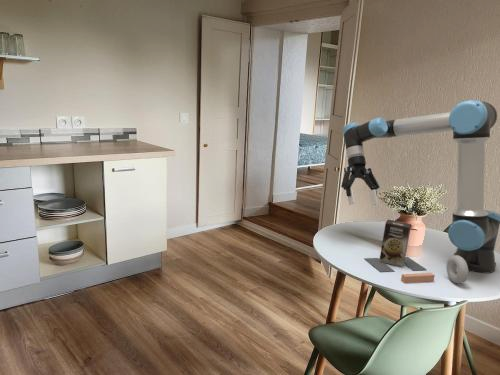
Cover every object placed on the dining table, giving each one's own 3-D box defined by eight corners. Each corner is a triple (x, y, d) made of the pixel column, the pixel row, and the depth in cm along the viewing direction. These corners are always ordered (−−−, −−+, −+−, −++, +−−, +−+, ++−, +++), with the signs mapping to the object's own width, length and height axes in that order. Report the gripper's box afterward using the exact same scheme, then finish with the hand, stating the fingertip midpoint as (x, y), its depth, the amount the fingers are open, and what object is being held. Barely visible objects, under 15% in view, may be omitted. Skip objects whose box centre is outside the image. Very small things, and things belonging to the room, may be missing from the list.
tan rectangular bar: (429, 279, 143) (431, 272, 142) (433, 281, 141) (434, 275, 140) (400, 280, 140) (401, 274, 139) (404, 283, 138) (405, 276, 137)
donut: (442, 275, 146) (447, 250, 144) (451, 275, 147) (456, 251, 144) (458, 288, 137) (463, 262, 134) (467, 288, 137) (473, 262, 135)
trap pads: (407, 257, 161) (407, 256, 161) (426, 270, 150) (426, 269, 150) (364, 259, 157) (364, 258, 157) (380, 272, 145) (380, 271, 145)
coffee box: (378, 261, 154) (384, 222, 151) (381, 256, 160) (387, 218, 156) (403, 267, 150) (409, 227, 147) (405, 261, 156) (411, 223, 152)
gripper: (370, 162, 183) (378, 206, 178) (328, 158, 171) (335, 205, 166) (382, 156, 177) (390, 202, 172) (340, 152, 165) (347, 201, 160)
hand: (363, 204), depth 169 cm, fingers open, 13 cm apart
